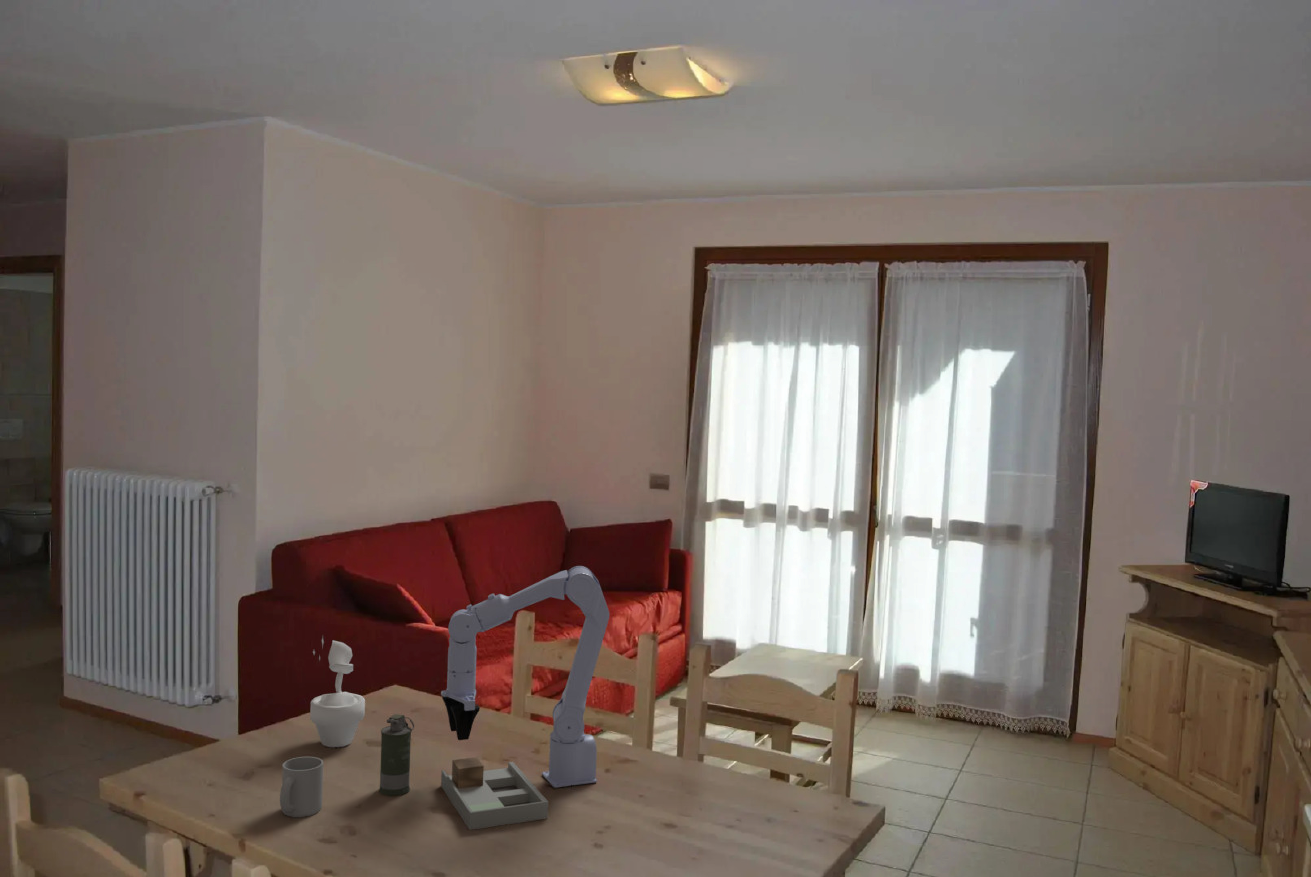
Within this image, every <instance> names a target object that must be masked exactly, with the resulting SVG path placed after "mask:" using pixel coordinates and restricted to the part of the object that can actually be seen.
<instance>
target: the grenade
mask: <svg viewBox="0 0 1311 877" xmlns="http://www.w3.org/2000/svg"><path fill="white" fill-rule="evenodd" d="M406 719H408V720H409V722H410V723H411V724H412V728H411V727H410V726H409V724H408V722H407V721H406ZM386 723H388V724H390V725H388V726H385V727H383V728H382V729H381V730H380V734H381V737H380V738H381V741H380V742H381V744H380V745H381V746H380V771H379V772H380V773H379V774H380V776H379V777H380V778H379V789H378V792H379V794H380V795H383V796H387V797H398V796H402V795H406V794H407V793H409V792H410V790H411V788H410V773H411V770H410V768H411V746H412V745H411V743H412V742H411V740H412V732H413V730H414V729H415V724H414V722H413V720H412V719H411V718H409V717H407V716H406V717H405V715H404V714H399V713H398V714H397V713H394V714H392V715H391V716H389V717H388V719H386Z"/></svg>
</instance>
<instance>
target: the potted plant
mask: <svg viewBox="0 0 1311 877" xmlns="http://www.w3.org/2000/svg"><path fill="white" fill-rule="evenodd" d="M324 643H325V641H324V636H322V639H321V646H322V649H323V647H324ZM352 651H353V650H352V648H351V647H350V646H349V645H347V644H346V643H344V642H342V641H337V640H334V639H333V640H332V643H331V647H330V649H329V653H328V656H327V659H328V663H329V666H328V668H329V669H330V670H331V671H332V672H334V673H337V674H336V677H335V683H334V686H335V691H336V692H333V693H325V694H322V695H319V696H316V697H314V698H313V699H311V701H310V713H309V714H310V715H309V716H310V717H309V718H310V721H311V722H312V723H313V724H315V728H316V730H317V734H318V736H319V740H320V743H321V744H322V746H325V747H327V748H335V747H337V748H343V747H346V746H348V745H350V744H351V743H352V742H353V741H354V740H353V739H354V737H355V734H356V731H357V729H358V726H359V723H360V722H361V721H362V720H363V719H364V718H365V714H366V713H365V709H366V699H365V698H364V696H362V695H360V694H357V693H351V692H348V691H342V683H343V676H344V674H346V675H348V674H350V673H351V672H353V671H354V664H353V663H350V662H351V660H352V658H353V655H354V654H353V652H352ZM312 653H313V655H315V654H316V651H315V650H313V651H312ZM318 658H319V659H318V660H319V661H321V656H320V655H319V657H318Z"/></svg>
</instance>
